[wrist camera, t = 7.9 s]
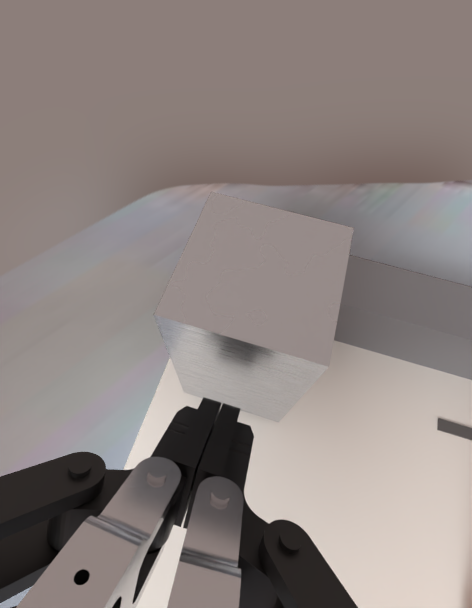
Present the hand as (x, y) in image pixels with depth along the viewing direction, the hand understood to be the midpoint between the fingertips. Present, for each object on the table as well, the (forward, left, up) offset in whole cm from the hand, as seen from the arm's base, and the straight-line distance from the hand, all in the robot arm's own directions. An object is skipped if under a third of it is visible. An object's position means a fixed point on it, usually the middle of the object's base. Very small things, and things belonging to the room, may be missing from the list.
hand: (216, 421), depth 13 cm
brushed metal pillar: (0, +4, -4) cm, 6 cm away
